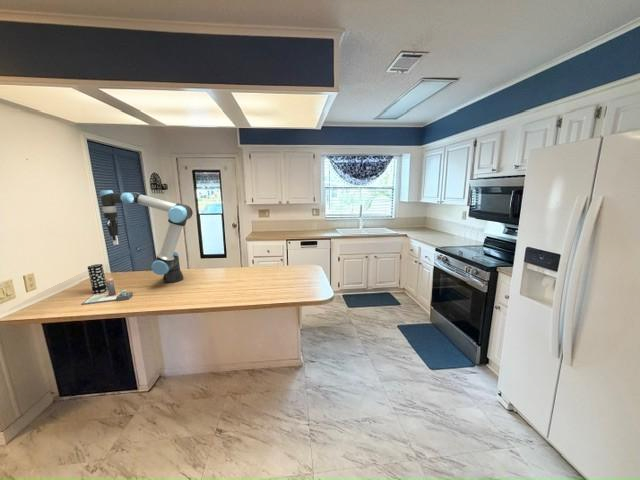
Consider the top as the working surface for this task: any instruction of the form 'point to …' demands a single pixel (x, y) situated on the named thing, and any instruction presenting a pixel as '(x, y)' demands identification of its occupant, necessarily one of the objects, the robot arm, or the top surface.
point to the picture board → (100, 298)
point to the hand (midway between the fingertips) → (116, 244)
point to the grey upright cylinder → (110, 286)
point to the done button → (123, 292)
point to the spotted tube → (97, 278)
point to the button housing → (124, 296)
